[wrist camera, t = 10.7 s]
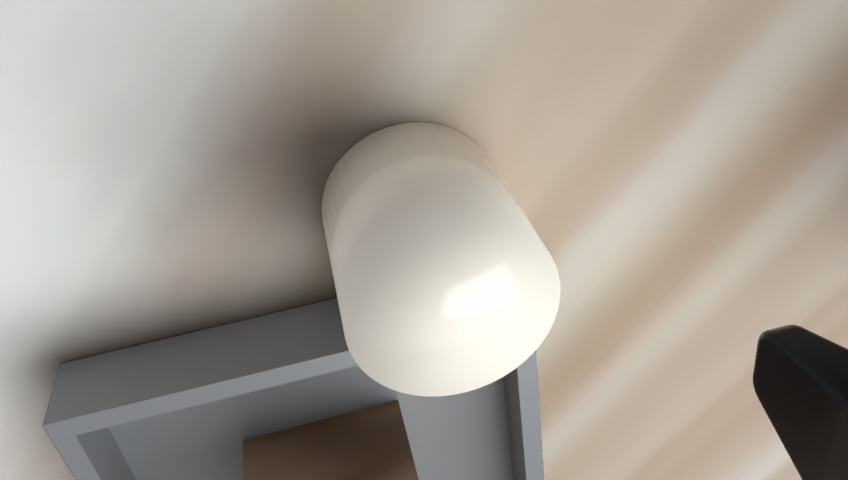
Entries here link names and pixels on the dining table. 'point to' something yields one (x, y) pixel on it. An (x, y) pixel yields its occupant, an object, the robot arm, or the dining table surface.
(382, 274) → the ivory round canister
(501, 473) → the gray tray
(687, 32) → the dining table surface
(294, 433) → the walnut block
